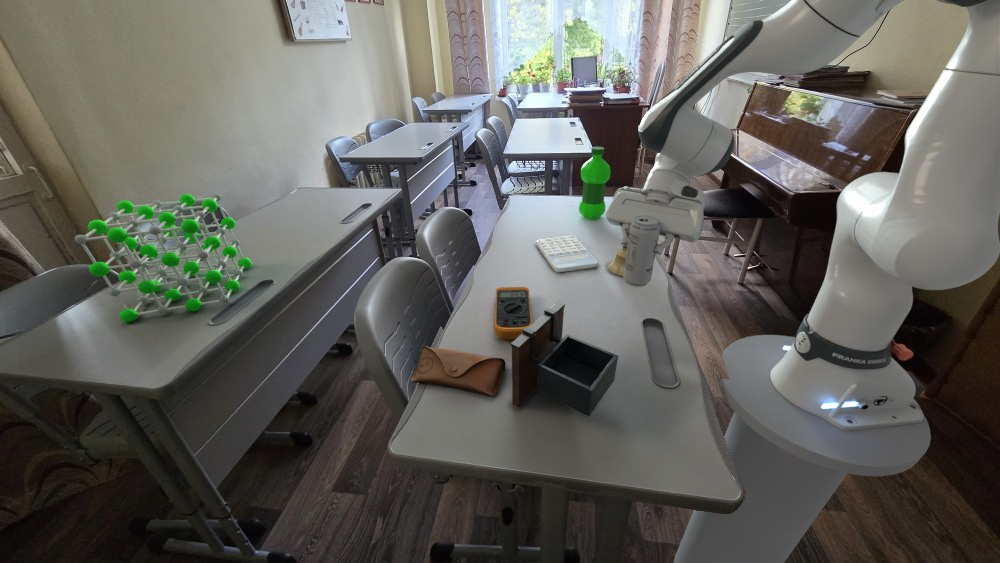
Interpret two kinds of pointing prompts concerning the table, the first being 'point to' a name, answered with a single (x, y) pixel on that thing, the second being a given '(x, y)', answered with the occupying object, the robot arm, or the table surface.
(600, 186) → the plastic bottle
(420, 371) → the sunglasses case
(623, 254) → the hand bell
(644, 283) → the energy drink can
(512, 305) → the multimeter
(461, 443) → the table surface
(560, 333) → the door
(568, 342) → the dark grey open box
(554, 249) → the calculator
